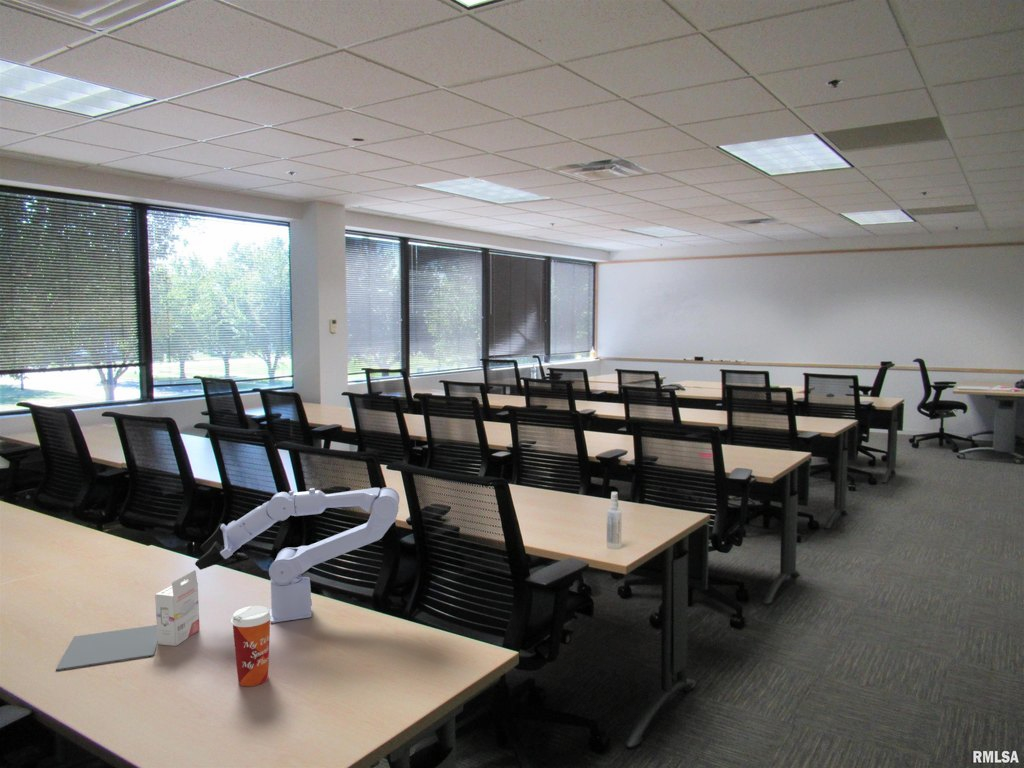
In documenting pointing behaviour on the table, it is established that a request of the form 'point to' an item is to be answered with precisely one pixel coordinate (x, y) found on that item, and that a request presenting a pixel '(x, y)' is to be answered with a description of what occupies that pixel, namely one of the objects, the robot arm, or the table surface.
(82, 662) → the mat
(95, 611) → the table surface
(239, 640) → the paper cup
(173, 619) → the ink cartridge box
